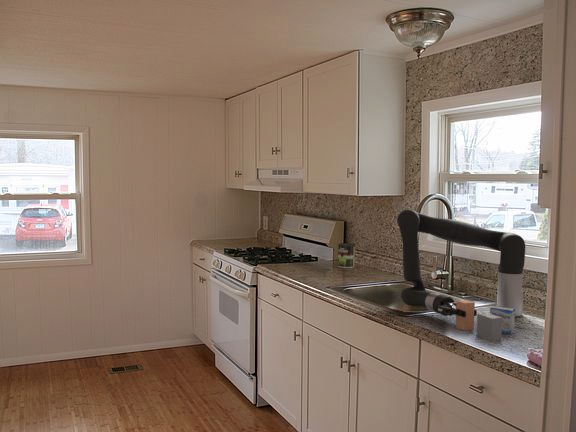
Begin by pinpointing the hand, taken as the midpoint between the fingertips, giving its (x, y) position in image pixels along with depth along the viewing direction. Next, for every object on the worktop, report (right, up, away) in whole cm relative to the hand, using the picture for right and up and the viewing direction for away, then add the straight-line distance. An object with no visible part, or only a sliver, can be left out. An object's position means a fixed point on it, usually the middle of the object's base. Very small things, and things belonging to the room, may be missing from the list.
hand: (470, 313), depth 201 cm
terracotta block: (-1, -6, +3) cm, 7 cm away
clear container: (-31, +4, +138) cm, 142 cm away
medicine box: (+11, -7, 0) cm, 13 cm away
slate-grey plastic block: (+3, -7, -9) cm, 12 cm away
